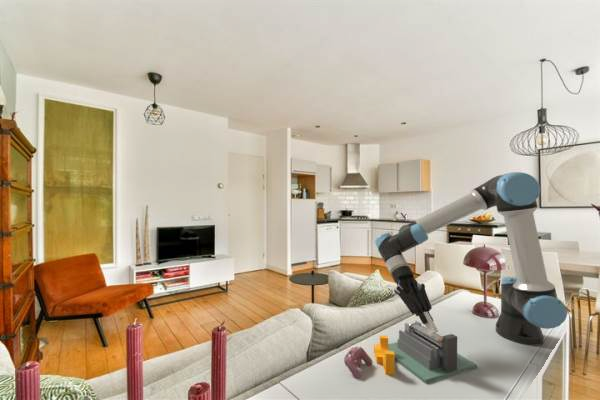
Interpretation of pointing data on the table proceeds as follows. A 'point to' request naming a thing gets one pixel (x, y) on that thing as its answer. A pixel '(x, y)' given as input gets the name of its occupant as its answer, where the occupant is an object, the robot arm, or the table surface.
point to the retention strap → (427, 334)
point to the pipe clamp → (384, 355)
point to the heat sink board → (429, 355)
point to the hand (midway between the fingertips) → (434, 332)
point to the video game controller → (356, 360)
